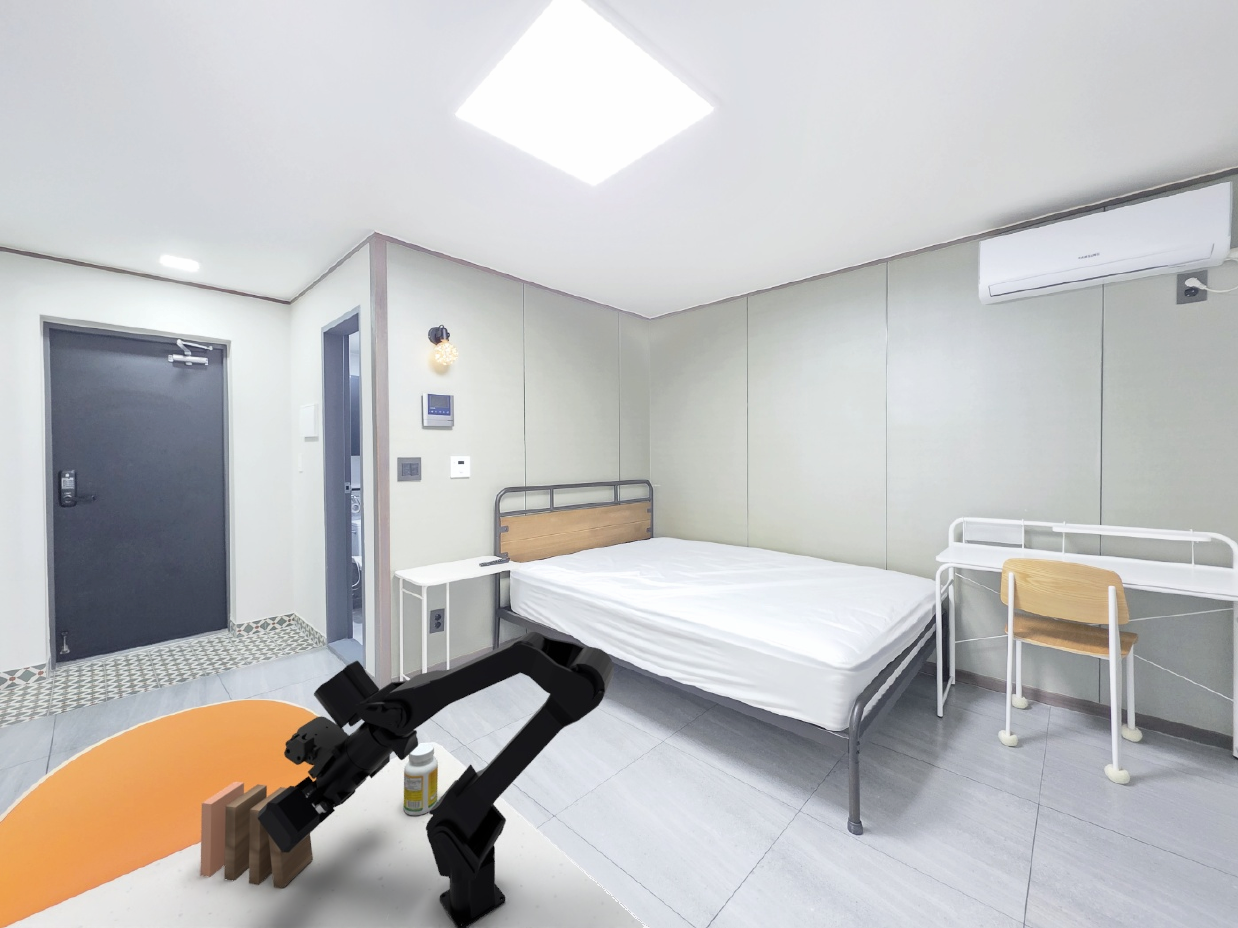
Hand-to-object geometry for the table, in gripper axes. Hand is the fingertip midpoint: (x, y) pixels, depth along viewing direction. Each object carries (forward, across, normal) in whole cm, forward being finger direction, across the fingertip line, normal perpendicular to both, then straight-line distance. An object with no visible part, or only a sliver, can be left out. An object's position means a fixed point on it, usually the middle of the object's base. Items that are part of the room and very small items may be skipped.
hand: (294, 820), depth 70 cm
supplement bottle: (-1, -16, +12) cm, 20 cm away
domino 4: (+5, 0, +5) cm, 7 cm away
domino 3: (+8, 0, +2) cm, 8 cm away
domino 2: (+11, 0, 0) cm, 11 cm away
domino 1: (+14, 0, -3) cm, 14 cm away
